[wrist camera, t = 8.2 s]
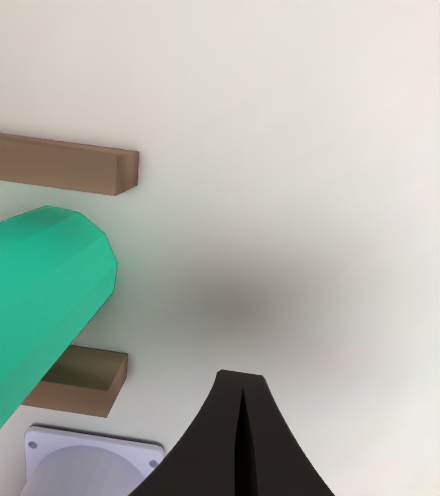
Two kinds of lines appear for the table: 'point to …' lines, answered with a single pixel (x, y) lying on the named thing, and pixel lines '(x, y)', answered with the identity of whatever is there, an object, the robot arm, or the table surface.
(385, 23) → the table surface
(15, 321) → the candle
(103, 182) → the brown wooden angled piece
